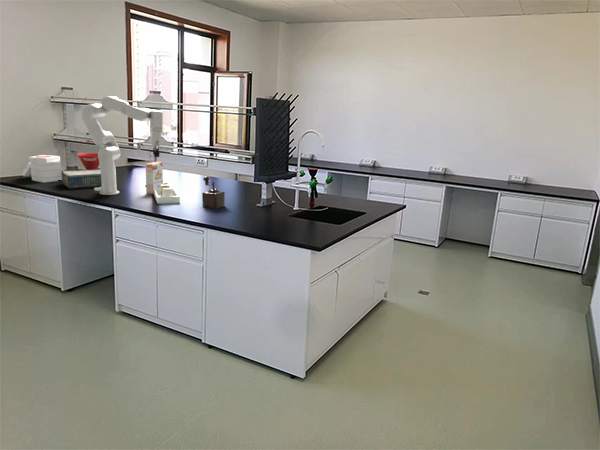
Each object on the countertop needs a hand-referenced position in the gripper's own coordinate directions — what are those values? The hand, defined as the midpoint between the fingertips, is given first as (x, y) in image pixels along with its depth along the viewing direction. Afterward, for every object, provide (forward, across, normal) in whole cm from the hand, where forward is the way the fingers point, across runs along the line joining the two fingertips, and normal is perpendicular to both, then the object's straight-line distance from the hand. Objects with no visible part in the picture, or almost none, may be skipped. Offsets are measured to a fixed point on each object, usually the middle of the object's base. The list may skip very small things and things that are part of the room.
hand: (156, 155), depth 306 cm
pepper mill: (+26, +34, +31) cm, 53 cm away
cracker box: (+28, -16, 0) cm, 32 cm away
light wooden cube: (+26, +6, +6) cm, 28 cm away
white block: (+26, +20, +6) cm, 33 cm away
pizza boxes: (+33, -77, -78) cm, 115 cm away
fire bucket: (+31, -79, -44) cm, 95 cm away
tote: (+27, +11, +6) cm, 30 cm away
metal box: (+31, -50, -44) cm, 74 cm away
